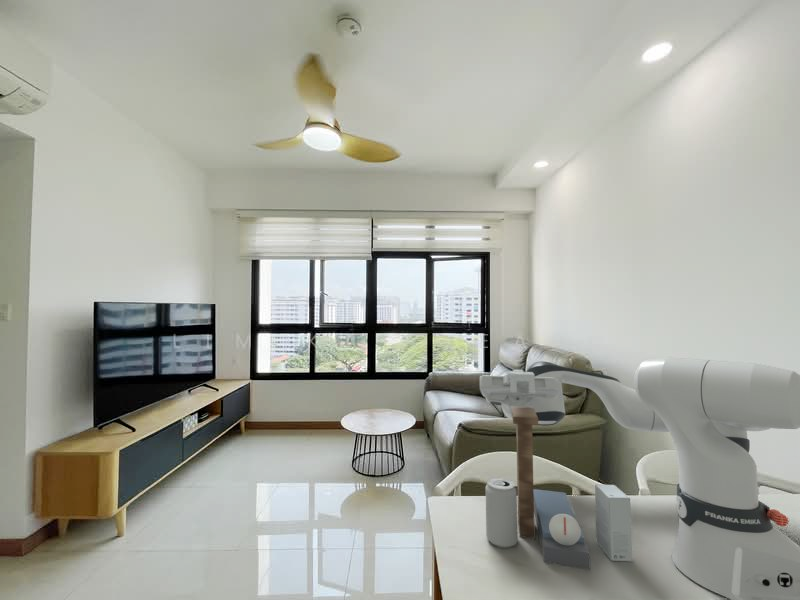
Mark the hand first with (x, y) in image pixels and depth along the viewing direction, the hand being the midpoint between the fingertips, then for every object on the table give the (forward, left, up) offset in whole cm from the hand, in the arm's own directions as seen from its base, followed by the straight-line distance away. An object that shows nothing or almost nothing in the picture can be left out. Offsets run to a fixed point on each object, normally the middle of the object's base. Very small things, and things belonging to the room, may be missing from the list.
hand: (518, 375), depth 91 cm
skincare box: (-17, +14, -33) cm, 39 cm away
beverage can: (+5, +16, -33) cm, 37 cm away
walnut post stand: (0, +11, -32) cm, 34 cm away
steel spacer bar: (0, +4, -2) cm, 4 cm away
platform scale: (-7, +10, -32) cm, 34 cm away
